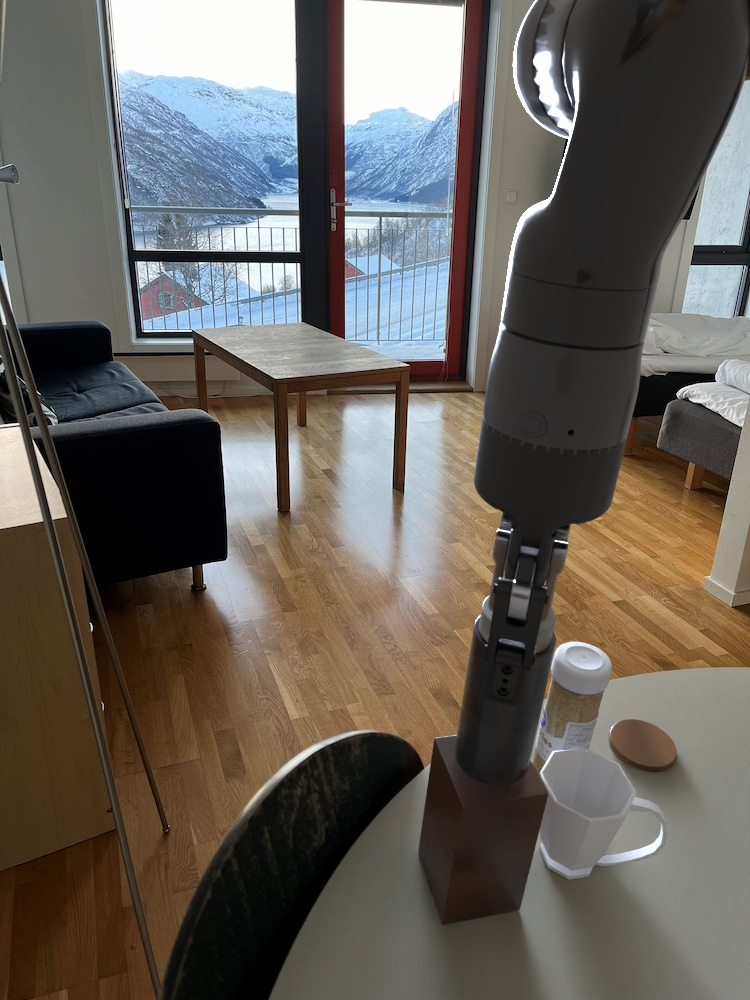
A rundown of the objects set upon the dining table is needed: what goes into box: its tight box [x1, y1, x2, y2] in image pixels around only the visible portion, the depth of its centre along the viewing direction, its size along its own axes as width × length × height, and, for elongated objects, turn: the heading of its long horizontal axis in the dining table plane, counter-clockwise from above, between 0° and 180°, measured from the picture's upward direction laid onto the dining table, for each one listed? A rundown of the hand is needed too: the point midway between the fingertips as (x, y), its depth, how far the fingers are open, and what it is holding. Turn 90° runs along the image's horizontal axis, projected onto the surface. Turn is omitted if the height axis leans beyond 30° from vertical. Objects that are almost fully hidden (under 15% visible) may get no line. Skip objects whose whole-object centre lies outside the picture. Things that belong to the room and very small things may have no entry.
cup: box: [538, 748, 668, 881], centre depth 56 cm, size 7×10×8 cm
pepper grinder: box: [455, 595, 557, 786], centre depth 47 cm, size 5×5×12 cm
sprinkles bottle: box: [530, 641, 613, 776], centre depth 62 cm, size 5×5×13 cm
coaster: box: [608, 718, 678, 772], centre depth 69 cm, size 6×6×1 cm
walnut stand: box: [417, 734, 549, 926], centre depth 53 cm, size 6×6×12 cm
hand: (508, 669), depth 46 cm, fingers closed on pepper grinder, 5 cm apart
